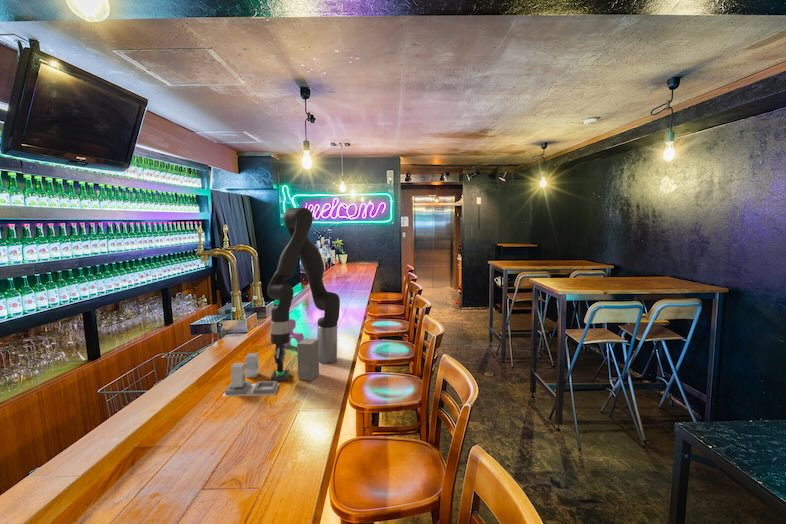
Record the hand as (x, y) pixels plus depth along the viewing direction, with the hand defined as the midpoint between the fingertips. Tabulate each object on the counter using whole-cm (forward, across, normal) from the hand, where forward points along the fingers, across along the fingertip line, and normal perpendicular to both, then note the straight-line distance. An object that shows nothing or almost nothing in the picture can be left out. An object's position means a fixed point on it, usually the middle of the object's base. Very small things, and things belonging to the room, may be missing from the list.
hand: (280, 371), depth 152 cm
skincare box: (+4, +3, -11) cm, 12 cm away
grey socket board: (+4, -10, +9) cm, 14 cm away
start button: (+3, 0, 0) cm, 3 cm away
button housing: (+4, 0, 0) cm, 4 cm away
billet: (+4, +3, +12) cm, 13 cm away
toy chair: (+4, +38, 0) cm, 38 cm away
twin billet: (+3, -10, +14) cm, 17 cm away
